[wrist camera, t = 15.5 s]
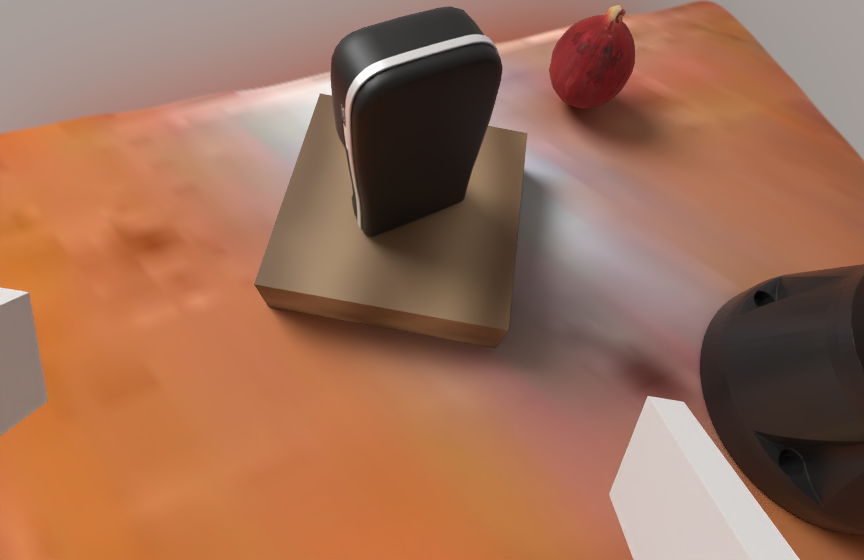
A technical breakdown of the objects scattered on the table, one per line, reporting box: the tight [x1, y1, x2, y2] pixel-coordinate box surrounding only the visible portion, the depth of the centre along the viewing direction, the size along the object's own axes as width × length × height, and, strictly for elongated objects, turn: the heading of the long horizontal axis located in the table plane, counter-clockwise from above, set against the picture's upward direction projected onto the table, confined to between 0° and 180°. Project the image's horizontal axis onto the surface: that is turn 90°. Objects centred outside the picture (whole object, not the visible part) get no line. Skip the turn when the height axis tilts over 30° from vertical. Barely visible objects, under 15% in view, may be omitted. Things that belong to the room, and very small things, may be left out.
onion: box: [549, 4, 635, 108], centre depth 34 cm, size 6×6×8 cm
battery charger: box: [331, 7, 502, 237], centre depth 23 cm, size 7×4×11 cm, turn 117°
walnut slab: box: [254, 94, 527, 348], centre depth 30 cm, size 14×14×4 cm
